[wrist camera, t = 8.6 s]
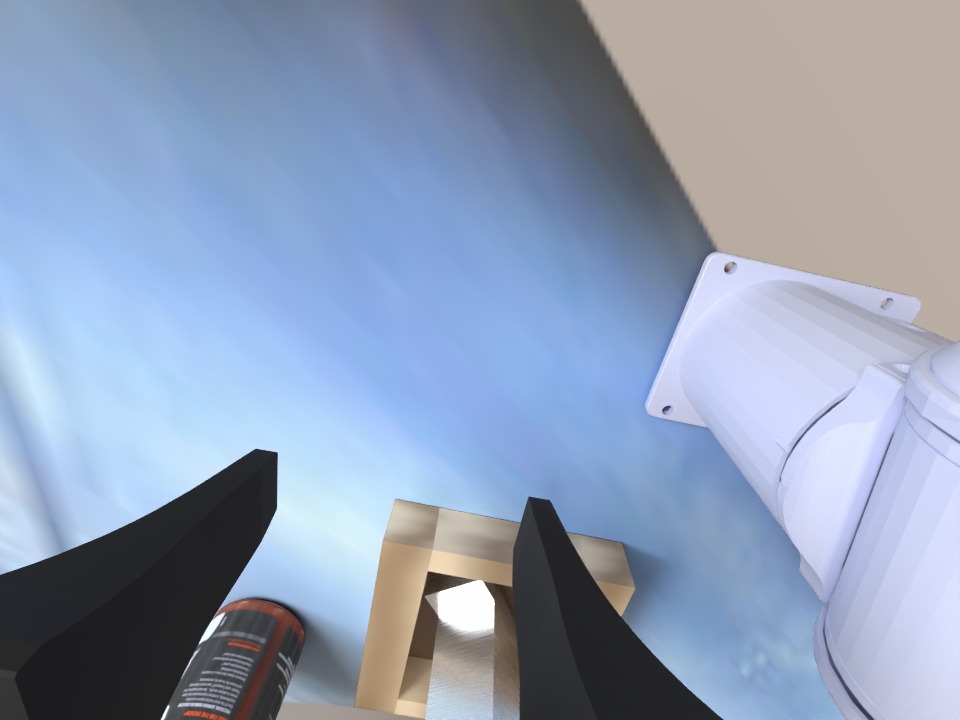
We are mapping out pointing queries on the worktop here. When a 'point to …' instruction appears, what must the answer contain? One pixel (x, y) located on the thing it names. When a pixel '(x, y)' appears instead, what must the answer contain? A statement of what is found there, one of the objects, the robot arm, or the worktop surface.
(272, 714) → the supplement bottle
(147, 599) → the robot arm
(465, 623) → the stepped metal bar
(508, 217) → the worktop surface
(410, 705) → the well block
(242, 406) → the worktop surface
